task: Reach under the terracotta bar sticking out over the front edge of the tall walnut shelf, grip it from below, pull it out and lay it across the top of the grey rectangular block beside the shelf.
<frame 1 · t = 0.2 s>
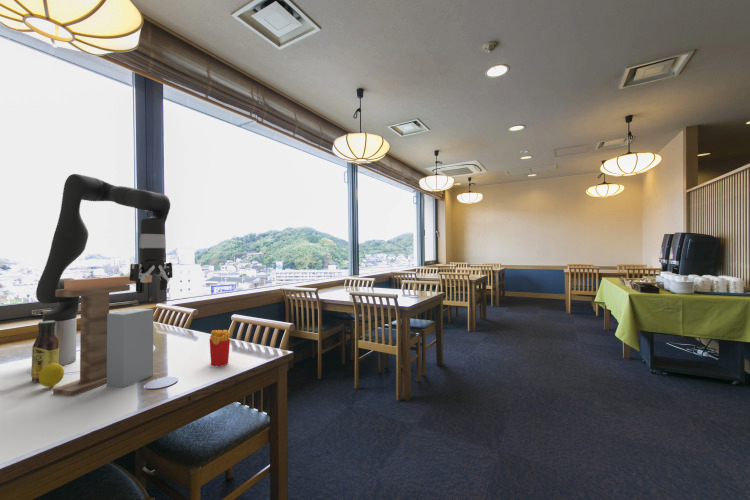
hand: (152, 291, 108), 29 cm above the table, tool pointing down, fingers open, 8 cm apart
grey rectangular block: (130, 380, 101), on the table
french fries: (220, 364, 117), on the table
sauce bottle: (45, 379, 102), on the table
lemon: (51, 388, 96), on the table
walnut shelf: (94, 383, 99), on the table
terracotta bar: (113, 285, 105), point 32 cm above the table, touching walnut shelf
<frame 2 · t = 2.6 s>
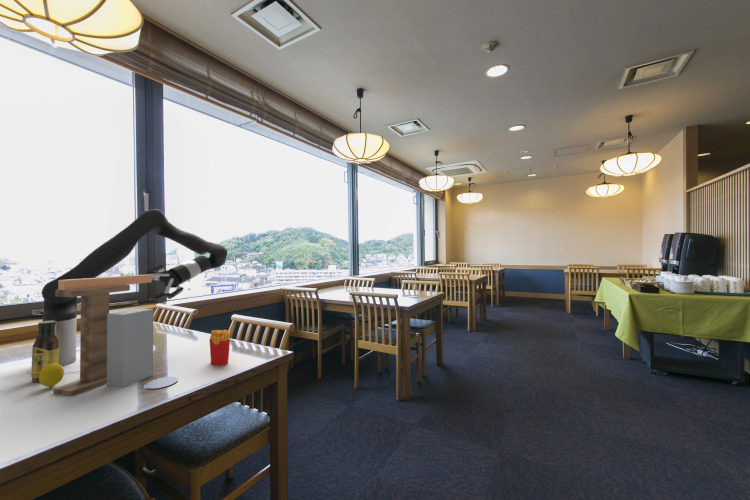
hand: (146, 290, 116), 29 cm above the table, tool tilted 65°, fingers open, 8 cm apart
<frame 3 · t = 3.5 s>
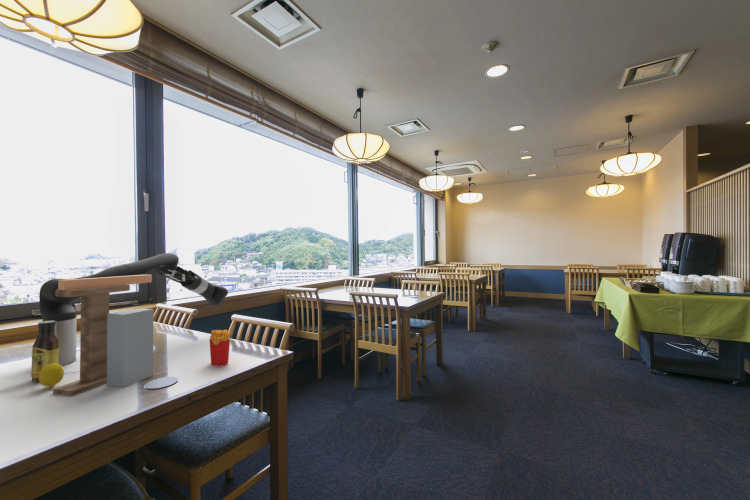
hand: (168, 268, 128), 37 cm above the table, tool pointing upward, fingers open, 8 cm apart
nothing on the table moved.
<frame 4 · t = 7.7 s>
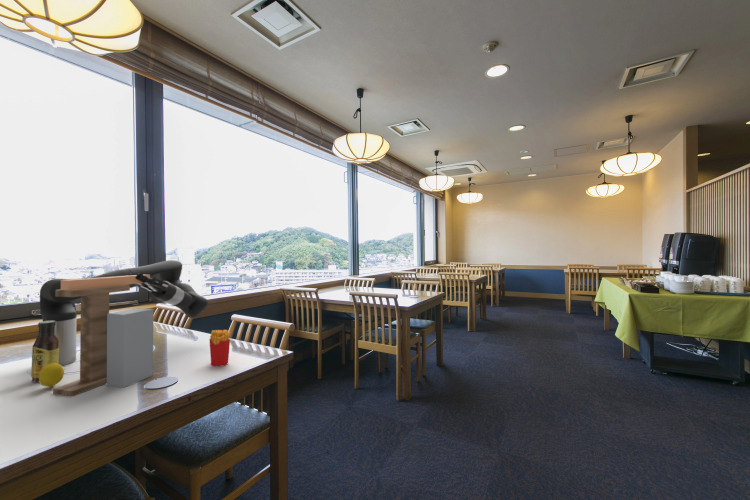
hand: (133, 275, 112), 35 cm above the table, tool pointing upward, fingers closed on terracotta bar, 3 cm apart
terracotta bar: (110, 285, 104), point 32 cm above the table, touching gripper, walnut shelf
everything else where it was.
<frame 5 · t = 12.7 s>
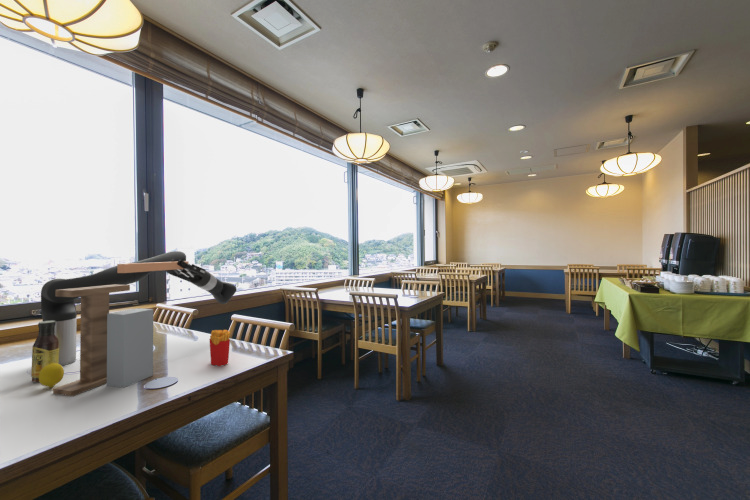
hand: (175, 261, 121), 40 cm above the table, tool pointing upward, fingers closed on terracotta bar, 3 cm apart
terracotta bar: (156, 270, 113), point 37 cm above the table, touching gripper
everything else where it was.
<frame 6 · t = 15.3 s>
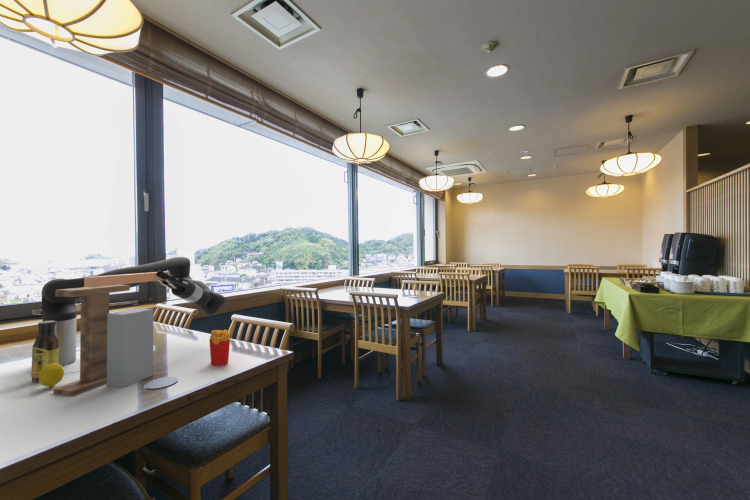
hand: (154, 272, 110), 36 cm above the table, tool pointing upward, fingers closed on terracotta bar, 3 cm apart
terracotta bar: (132, 282, 102), point 33 cm above the table, touching gripper
everything else where it was.
when the fingers open (27 cm above the table, at t = 17.4 s): terracotta bar stays where it is, resting on grey rectangular block.
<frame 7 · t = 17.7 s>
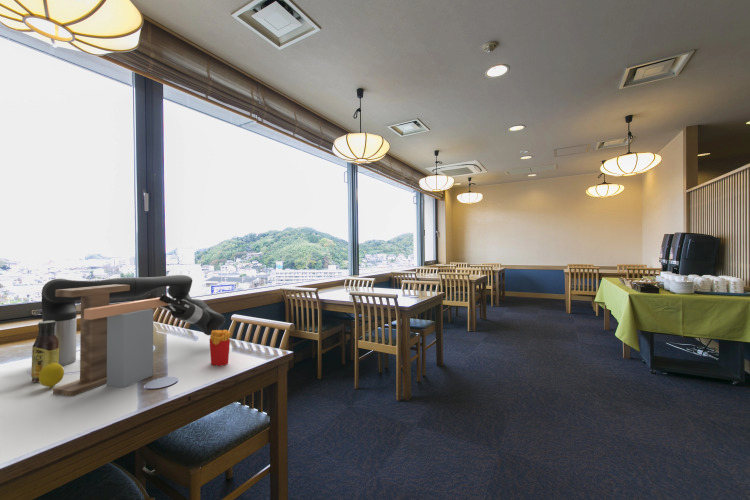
hand: (154, 296, 110), 27 cm above the table, tool pointing upward, fingers open, 5 cm apart
terracotta bar: (131, 311, 102), point 23 cm above the table, touching grey rectangular block
everything else where it was.
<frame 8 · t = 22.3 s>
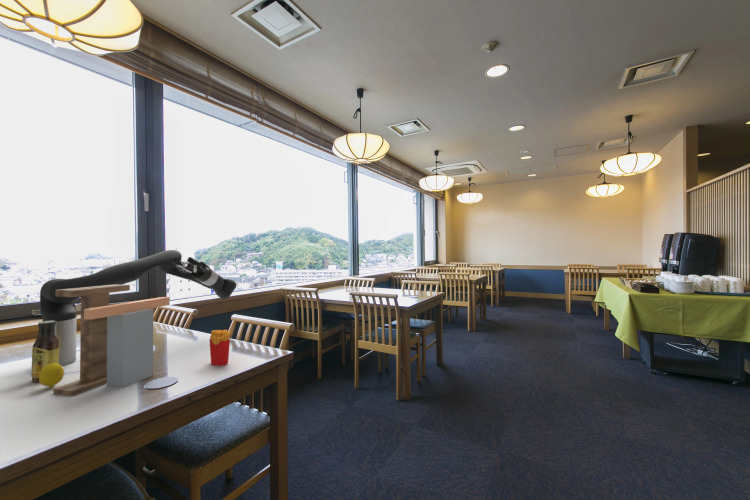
hand: (180, 258, 129), 41 cm above the table, tool pointing upward, fingers open, 8 cm apart
nothing on the table moved.
at the end: terracotta bar inside the target area on the grey rectangular block (0.3 cm from its centre), point 23.5 cm above the grey rectangular block's base; terracotta bar touching grey rectangular block; the gripper is holding nothing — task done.
